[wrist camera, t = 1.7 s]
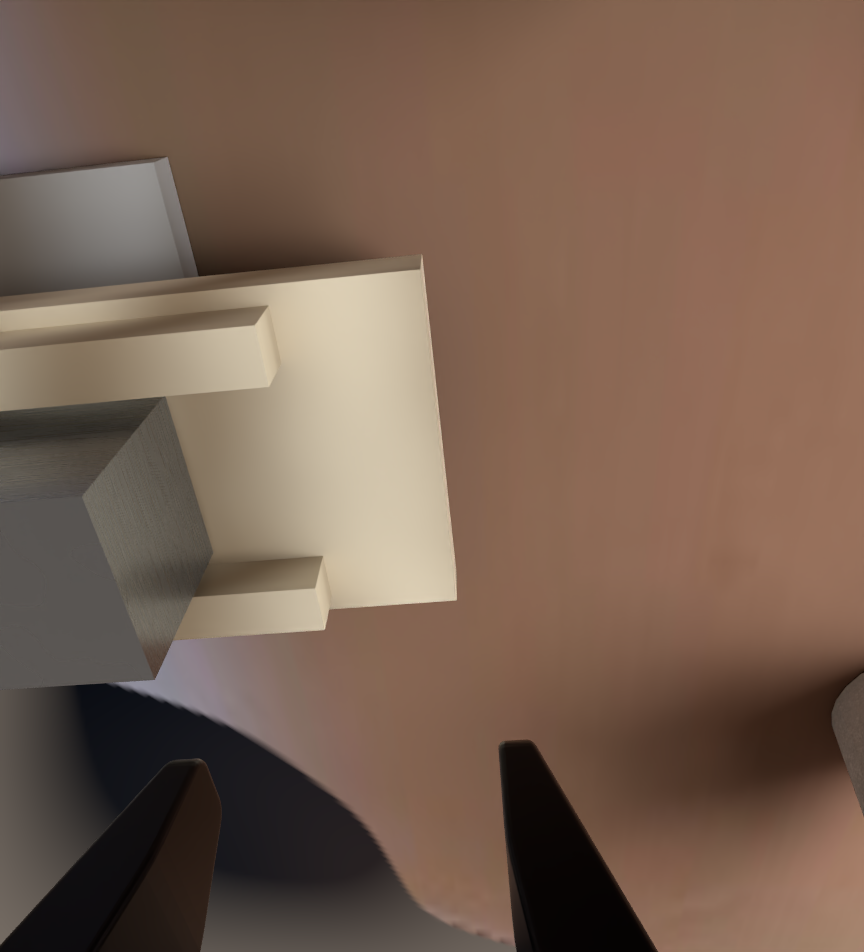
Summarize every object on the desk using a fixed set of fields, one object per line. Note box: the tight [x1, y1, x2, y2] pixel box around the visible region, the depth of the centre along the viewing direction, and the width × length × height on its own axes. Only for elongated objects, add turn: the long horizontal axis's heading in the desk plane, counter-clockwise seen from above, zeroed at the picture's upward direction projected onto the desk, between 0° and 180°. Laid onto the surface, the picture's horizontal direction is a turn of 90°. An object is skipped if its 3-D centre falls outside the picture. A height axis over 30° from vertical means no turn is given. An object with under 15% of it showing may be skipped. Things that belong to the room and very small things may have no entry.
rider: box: [0, 396, 213, 690], centre depth 15 cm, size 5×4×4 cm
